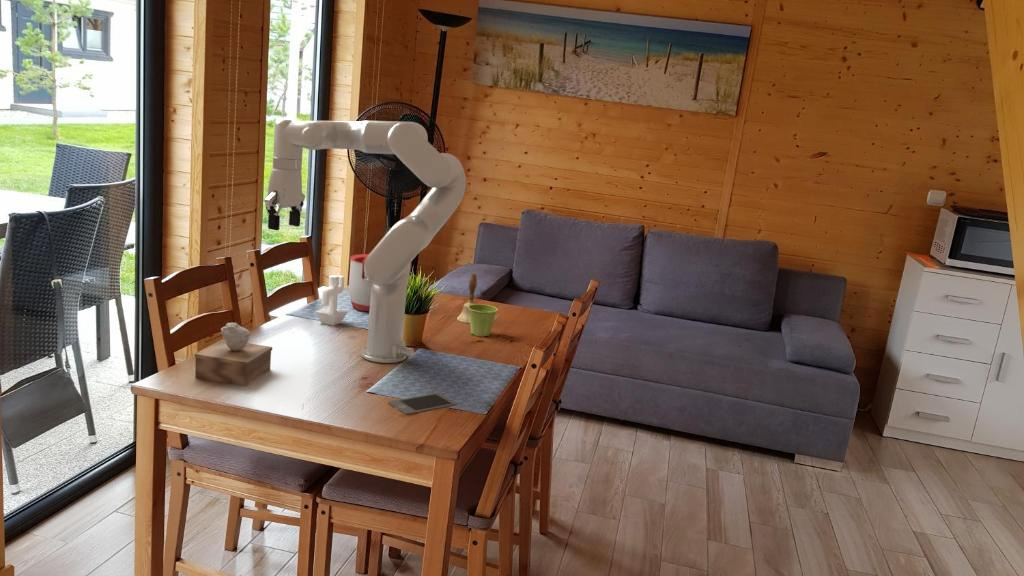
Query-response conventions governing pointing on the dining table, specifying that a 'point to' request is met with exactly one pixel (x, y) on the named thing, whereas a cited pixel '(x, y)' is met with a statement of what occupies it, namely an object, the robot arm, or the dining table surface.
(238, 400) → the dining table surface
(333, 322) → the figurine
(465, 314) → the hand bell
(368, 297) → the citrus juicer
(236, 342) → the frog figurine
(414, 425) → the dining table surface
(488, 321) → the plant pot
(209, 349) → the walnut box
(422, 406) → the smartphone
